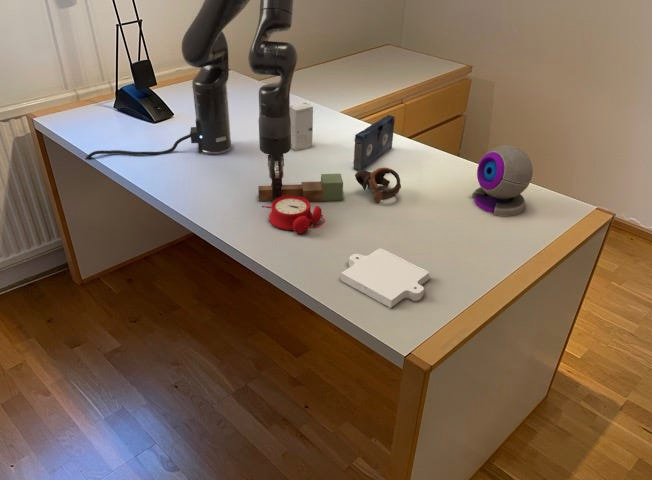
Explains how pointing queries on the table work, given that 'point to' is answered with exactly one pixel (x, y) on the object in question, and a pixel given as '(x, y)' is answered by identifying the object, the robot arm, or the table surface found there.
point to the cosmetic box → (301, 125)
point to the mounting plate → (385, 277)
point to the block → (332, 187)
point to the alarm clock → (294, 214)
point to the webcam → (503, 180)
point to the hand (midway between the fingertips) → (276, 195)
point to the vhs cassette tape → (373, 142)
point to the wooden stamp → (295, 191)
